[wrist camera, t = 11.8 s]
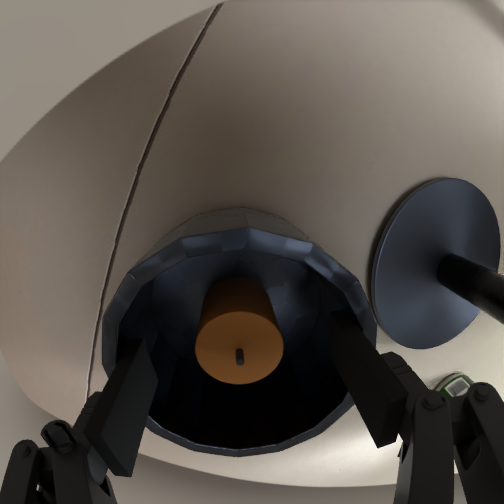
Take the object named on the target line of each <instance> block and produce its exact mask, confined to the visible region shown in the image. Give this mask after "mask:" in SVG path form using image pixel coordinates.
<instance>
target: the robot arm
mask: <svg viewBox="0 0 504 504" xmlns="http://www.w3.org/2000/svg"><path fill="white" fill-rule="evenodd" d="M330 342H331V359H332V361H333V362H334V364H335V366H336V368H337V370H338V372H339V374H340V376H341V378H342V380H343V382H344V384H345V385H346V387H347V389H348V391H349V393H350V395H351V397H352V399H353V401H354V403H355V405H356V407H357V409H358V411H359V413H360V415H361V417H362V419H363V421H364V422H365V424H366V426H367V428H368V430H369V432H370V434H371V436H372V438H373V440H374V442H375V444H376V446H377V448H380V447H383V446H386V445H389V444H391V443H394V442H396V439H397V436H398V433H399V435H400V437H401V438H402V440H403V442H402V445H401V448H400V451H399V454H398V457H400V462H399V470H398V478H397V485H396V491H395V498H394V503H393V504H453V502H454V460H455V463H456V466H457V469H458V473H459V476H460V479H461V483H462V486H463V490H464V493H465V497H466V501H467V504H504V402H503V400H502V399H501V397H500V395H499V394H498V392H497V391H496V389H495V388H494V387H493V386H492V385H490V384H488V383H484V382H477V383H474V384H472V385H471V386H470V387H469V388H468V389H467V392H466V394H465V395H460V396H454V397H447V396H446V395H445V394H444V393H442V392H439V391H435V390H429V389H428V388H427V386H426V385H425V384H424V383H423V382H422V380H421V379H420V378H419V377H418V376H417V374H416V373H415V372H414V371H412V369H411V367H410V366H409V365H407V363H406V362H405V360H404V359H403V358H402V357H401V356H399V355H398V354H396V353H394V352H392V351H391V352H388V353H384V354H381V355H380V354H379V353H378V351H377V350H376V349H375V347H374V346H373V345H372V344H371V342H370V341H369V340H368V338H367V337H366V336H365V335H364V333H363V332H362V331H361V330H360V328H359V327H358V326H357V324H356V323H355V322H354V321H353V319H352V318H351V317H350V316H349V314H348V313H347V312H346V311H345V309H343V310H338V311H333V312H330ZM157 383H158V378H157V376H156V373H155V370H154V368H153V365H152V362H151V359H150V357H149V354H148V351H147V348H146V345H145V342H144V339H143V338H141V339H130V340H129V342H128V344H127V345H126V347H125V349H124V351H123V353H122V355H121V356H120V358H119V360H118V362H117V364H116V366H115V368H114V370H113V372H112V373H111V375H110V377H109V379H108V381H107V383H106V385H105V387H104V389H103V391H102V392H94V393H93V394H92V395H91V396H90V397H89V398H88V399H87V401H86V403H85V405H84V408H83V409H82V411H81V414H80V415H79V416H78V418H77V420H76V422H75V424H74V426H73V428H71V427H70V425H69V424H68V423H67V422H66V421H63V420H54V421H52V422H49V423H48V424H47V425H45V426H44V428H43V429H42V431H41V436H42V437H43V439H44V440H45V441H46V443H47V444H48V445H49V447H43V448H39V447H38V446H37V445H36V444H35V442H33V441H32V440H22V441H20V442H18V443H17V444H16V445H15V447H14V448H13V450H12V453H11V457H10V460H9V463H8V466H7V469H6V473H5V476H4V480H3V484H2V487H1V492H0V504H117V501H116V498H115V495H114V492H113V489H112V485H111V482H110V480H109V478H108V476H107V475H106V473H107V470H108V468H109V469H110V470H111V472H112V473H113V474H114V475H115V476H124V477H131V476H132V473H133V468H134V465H135V461H136V457H137V453H138V449H139V446H140V442H141V438H142V435H143V431H144V428H145V424H146V421H147V417H148V414H149V410H150V407H151V403H152V400H153V397H154V393H155V390H156V387H157ZM37 484H38V485H39V490H38V491H37V490H36V489H37Z"/></svg>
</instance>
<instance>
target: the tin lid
mask: <svg viewBox="0 0 504 504" xmlns="http://www.w3.org/2000/svg"><path fill="white" fill-rule="evenodd" d="M500 248H501V244H500V231H499V226H498V221H497V218H496V215H495V212H494V210H493V208H492V206H491V204H490V202H489V200H488V199H487V198H486V196H485V195H484V194H483V193H482V192H481V191H480V190H479V189H478V188H477V187H476V186H474V185H473V184H471V183H469V182H467V181H464V180H461V179H456V178H441V179H436V180H433V181H430V182H428V183H426V184H424V185H422V186H420V187H419V188H417V189H416V190H415V191H413V192H412V193H411V194H410V195H409V196H408V197H407V198H406V199H405V200H404V201H403V202H402V203H401V204H400V205H399V207H398V208H397V209H396V210H395V212H394V213H393V215H392V217H391V218H390V220H389V221H388V223H387V225H386V227H385V229H384V231H383V233H382V236H381V238H380V241H379V244H378V246H377V250H376V254H375V257H374V262H373V268H372V276H371V295H372V302H373V308H374V311H375V314H376V317H377V319H378V321H379V323H380V325H381V327H382V328H383V329H384V331H385V332H386V333H387V334H388V335H389V336H390V337H391V338H392V339H393V340H394V341H395V342H397V343H398V344H400V345H402V346H405V347H407V348H412V349H428V348H433V347H436V346H439V345H442V344H444V343H446V342H448V341H450V340H451V339H453V338H454V337H456V336H457V335H458V334H460V333H461V332H462V331H463V330H464V329H465V328H466V327H468V326H469V324H470V323H471V322H472V321H473V320H474V319H475V317H476V316H477V315H478V313H479V312H480V311H481V310H482V311H484V312H485V313H487V314H489V315H490V316H492V317H493V318H495V319H496V320H498V321H499V322H501V323H502V324H504V276H503V275H501V274H498V273H497V271H498V267H499V260H500Z"/></svg>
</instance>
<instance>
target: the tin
mask: <svg viewBox="0 0 504 504" xmlns="http://www.w3.org/2000/svg"><path fill="white" fill-rule="evenodd" d="M230 277H245V278H248V279H251V280H254V281H255V282H257V283H258V284H260V285H261V286H262V287H263V288H264V289H265V291H266V292H267V294H268V295H269V298H270V301H271V304H272V307H273V310H274V313H275V317H276V320H277V323H278V326H279V329H280V332H281V335H282V338H283V343H284V350H283V355H282V358H281V360H280V362H279V364H278V366H277V367H276V368H275V369H274V370H273V371H272V372H271V373H270V374H269V375H267V376H266V377H264V378H262V379H260V380H258V381H255V382H252V383H247V384H230V383H225V382H222V381H219V380H217V379H215V378H213V377H212V376H210V375H209V374H208V373H207V372H206V371H205V370H204V369H203V368H202V367H201V365H200V364H199V362H198V360H197V357H196V353H195V342H196V337H197V331H198V326H199V321H200V315H201V310H202V305H203V300H204V297H205V295H206V293H207V292H208V290H209V289H210V288H211V287H212V286H213V285H214V284H216V283H217V282H219V281H221V280H223V279H226V278H230ZM343 309H345V311H346V312H347V313H348V314H349V316H350V317H351V318H352V319H353V321H354V322H355V323H356V324H357V326H358V327H359V328H360V330H361V331H362V332H363V333H364V335H365V336H366V337H367V338H368V340H369V341H370V342H371V344H372V345H373V346H374V347H375V349H376V339H377V321H376V319H375V316H374V314H373V312H372V309H371V307H370V305H369V302H368V300H367V298H366V295H365V293H364V291H363V289H362V286H361V284H360V282H359V280H358V279H357V278H356V277H355V276H354V275H353V274H352V273H351V272H349V271H348V270H347V269H346V268H345V267H343V266H342V265H341V264H340V263H339V262H338V261H336V260H335V259H334V258H333V257H332V256H330V255H329V254H328V253H327V252H326V251H324V250H323V249H322V248H321V247H319V246H318V245H317V244H316V243H315V242H313V241H312V240H311V239H310V238H308V237H307V236H306V235H305V234H303V233H302V232H301V231H299V230H298V229H297V228H296V227H294V226H293V225H292V224H290V223H289V222H288V221H287V220H285V219H284V218H282V217H279V216H275V215H271V214H268V213H265V212H262V211H258V210H252V209H248V208H244V207H242V208H241V207H238V208H230V209H220V210H215V211H211V212H206V213H200V214H198V215H196V216H195V217H193V218H191V219H190V220H188V221H186V222H184V223H183V224H181V225H180V226H179V227H177V228H176V229H174V230H172V231H171V232H169V233H168V234H166V235H165V236H164V237H163V238H162V239H161V240H160V241H159V242H158V243H157V244H156V245H155V246H154V247H153V248H152V249H150V250H149V251H148V252H147V253H146V254H145V255H144V256H143V257H142V258H141V259H140V260H139V261H138V262H137V263H136V264H135V265H134V266H133V267H132V268H131V269H130V271H129V272H128V273H127V274H126V276H125V278H124V279H123V281H122V283H121V284H120V286H119V288H118V290H117V291H116V293H115V295H114V297H113V298H112V300H111V302H110V304H109V306H108V307H107V309H106V311H105V313H104V316H103V321H102V365H103V367H104V370H105V372H106V374H107V376H108V378H109V377H110V375H111V373H112V372H113V370H114V368H115V366H116V364H117V362H118V360H119V358H120V356H121V355H122V353H123V351H124V349H125V347H126V345H127V344H128V342H129V340H130V339H141V338H143V339H144V342H145V345H146V348H147V351H148V354H149V357H150V359H151V362H152V365H153V368H154V370H155V373H156V376H157V378H158V383H157V387H156V390H155V393H154V397H153V400H152V403H151V407H150V410H149V414H148V417H147V421H146V424H145V427H147V428H148V429H149V430H150V431H151V432H153V433H155V434H157V435H159V436H161V437H163V438H165V439H167V440H169V441H171V442H174V443H176V444H178V445H180V446H182V447H185V448H187V449H189V450H193V451H196V452H202V453H209V454H215V455H223V456H231V457H244V456H252V455H260V454H267V453H274V452H280V451H283V450H285V449H288V448H290V447H292V446H295V445H297V444H299V443H302V442H304V441H306V440H308V439H311V438H313V437H315V436H317V435H319V434H320V433H323V432H324V431H325V430H326V429H327V428H328V427H330V426H331V425H332V424H333V423H334V422H336V421H337V420H338V419H339V418H340V417H341V416H342V415H343V414H345V413H346V412H347V411H348V410H349V409H350V408H351V407H352V406H353V405H354V404H355V403H354V401H353V399H352V397H351V395H350V393H349V391H348V389H347V387H346V385H345V384H344V382H343V380H342V378H341V376H340V374H339V372H338V370H337V368H336V366H335V364H334V362H333V361H332V359H331V342H330V312H333V311H338V310H343Z"/></svg>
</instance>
